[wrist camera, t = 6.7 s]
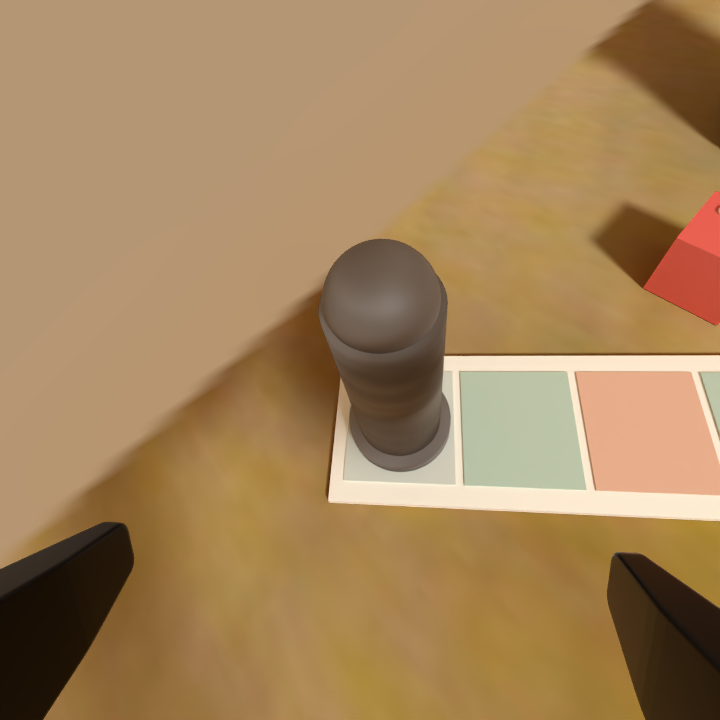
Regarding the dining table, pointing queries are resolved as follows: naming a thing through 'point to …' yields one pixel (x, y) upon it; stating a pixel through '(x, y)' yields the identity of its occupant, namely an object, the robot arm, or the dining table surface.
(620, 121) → the dining table surface
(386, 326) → the pawn
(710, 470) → the game board
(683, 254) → the red die
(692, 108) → the dining table surface
